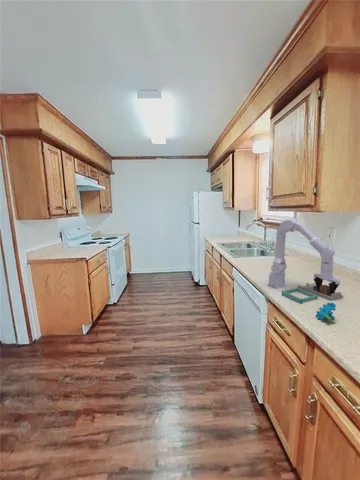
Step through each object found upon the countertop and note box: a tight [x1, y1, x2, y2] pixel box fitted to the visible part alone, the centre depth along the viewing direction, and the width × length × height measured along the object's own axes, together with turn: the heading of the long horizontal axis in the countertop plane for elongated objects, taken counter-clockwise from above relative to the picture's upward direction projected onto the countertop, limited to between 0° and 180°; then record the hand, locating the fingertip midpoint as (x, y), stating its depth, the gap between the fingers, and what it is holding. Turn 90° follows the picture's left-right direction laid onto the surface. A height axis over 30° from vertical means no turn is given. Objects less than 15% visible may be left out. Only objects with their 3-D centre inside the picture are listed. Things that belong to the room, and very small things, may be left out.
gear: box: [315, 301, 337, 325], centre depth 107 cm, size 11×6×10 cm
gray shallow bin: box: [296, 282, 344, 302], centre depth 136 cm, size 22×10×4 cm, turn 20°
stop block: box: [320, 284, 331, 296], centre depth 132 cm, size 4×4×5 cm
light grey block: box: [308, 282, 318, 291], centre depth 139 cm, size 4×5×4 cm
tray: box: [281, 287, 319, 305], centre depth 132 cm, size 14×12×2 cm
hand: (325, 292), depth 132 cm, fingers open, 7 cm apart
